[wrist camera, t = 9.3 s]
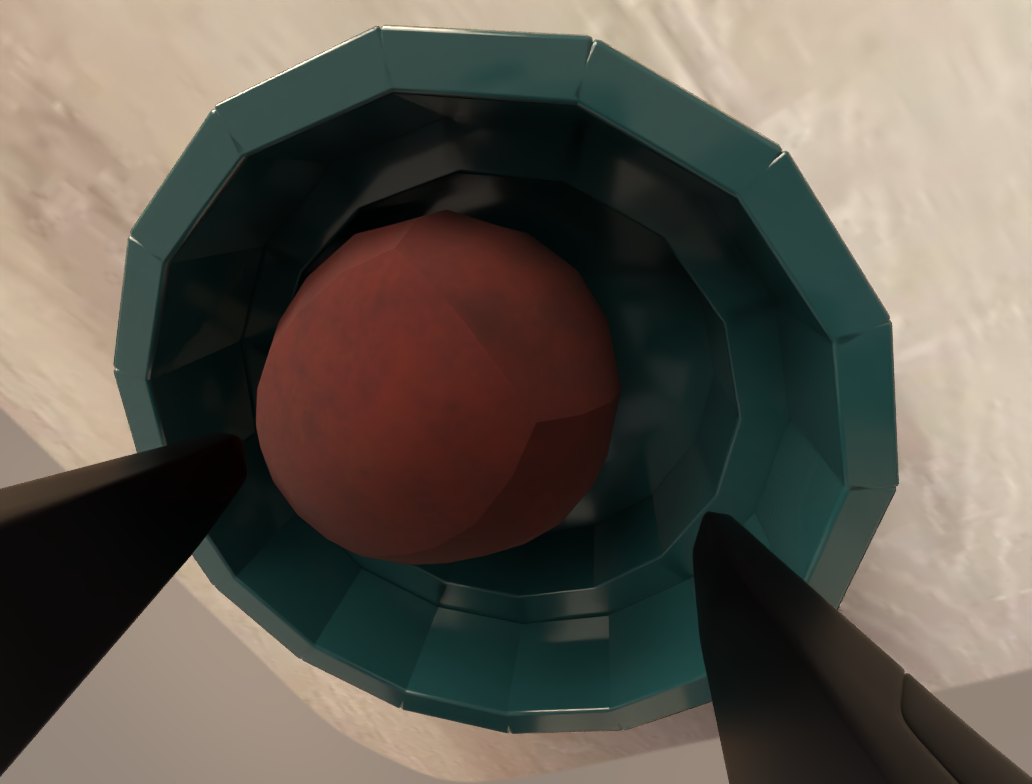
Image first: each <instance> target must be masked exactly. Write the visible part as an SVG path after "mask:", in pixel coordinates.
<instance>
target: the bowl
mask: <svg viewBox="0 0 1032 784" xmlns="http://www.w3.org/2000/svg"><path fill="white" fill-rule="evenodd" d="M443 210H450V211H453V212H456V213H459V214H463V215H466V216H469V217H472V218H475V219H478V220H482V221H485V222H488V223H491V224H494V225H498V226H501V227H505V228H509V229H513V230H517V231H521V232H525V233H528V234H530V235H531V236H532V237H534V238H535V239H536V240H538V241H539V242H540V243H542V244H543V245H544V246H546V247H547V248H548V249H550V250H551V251H552V252H554V253H555V254H556V255H558V256H559V257H560V258H562V259H563V260H564V261H566V262H567V263H568V264H570V265H571V266H573V267H574V268H575V269H576V270H577V271H578V272H579V273H580V274H581V276H582V277H583V279H584V281H585V282H586V284H587V286H588V287H589V289H590V291H591V292H592V294H593V295H594V297H595V299H596V300H597V302H598V304H599V305H600V307H601V309H602V310H603V312H604V314H605V315H606V317H607V320H608V325H609V330H610V335H611V340H612V345H613V350H614V355H615V360H616V365H617V370H618V375H619V380H620V385H621V392H620V396H619V401H618V406H617V411H616V416H615V421H614V426H613V431H612V435H611V440H610V445H609V450H608V455H607V458H606V460H605V462H604V464H603V466H602V468H601V470H600V472H599V474H598V476H597V478H596V480H595V482H594V485H593V487H592V488H591V489H590V490H589V491H588V493H587V494H586V495H585V496H584V497H583V498H582V499H581V501H580V502H579V503H578V504H577V505H576V506H575V508H574V509H573V510H572V511H571V512H570V513H569V514H568V516H567V517H566V518H565V519H564V520H563V521H562V522H561V524H559V525H557V526H556V527H554V528H552V529H550V530H548V531H547V532H545V533H543V534H541V535H540V536H538V537H536V538H534V539H532V540H531V541H529V542H527V543H525V544H523V545H520V546H516V547H513V548H510V549H506V550H503V551H500V552H496V553H493V554H490V555H486V556H481V557H476V558H471V559H466V560H461V561H456V562H451V563H439V564H417V565H408V564H402V563H396V562H390V561H384V560H378V559H372V558H367V557H363V556H359V555H357V554H355V553H353V552H351V551H349V550H347V549H345V548H343V547H342V546H340V545H338V544H336V543H334V542H332V541H330V540H328V539H327V538H325V537H324V536H323V535H322V534H321V533H319V532H318V531H317V530H316V529H314V528H313V527H312V526H311V525H310V524H308V523H307V522H306V521H305V520H303V519H302V518H301V517H300V516H299V515H297V513H296V512H295V511H294V509H293V508H292V507H291V505H290V504H289V502H288V501H287V500H286V498H285V497H284V496H283V494H282V493H281V492H280V490H279V489H278V487H277V486H276V485H275V483H274V482H273V480H272V477H271V475H270V472H269V469H268V467H267V464H266V461H265V459H264V456H263V453H262V451H261V447H260V443H259V438H258V433H257V428H256V409H257V388H258V385H259V382H260V379H261V376H262V373H263V370H264V366H265V363H266V360H267V357H268V354H269V351H270V348H271V344H272V341H273V338H274V335H275V332H276V329H277V326H278V323H279V321H280V319H281V317H282V316H283V314H284V313H285V311H286V309H287V308H288V306H289V305H290V303H291V302H292V300H293V298H294V297H295V295H296V294H297V292H298V291H299V289H300V287H301V286H302V284H303V283H304V281H305V280H306V278H307V277H308V276H309V275H310V274H311V273H312V272H313V271H314V270H316V269H317V268H318V267H319V266H320V265H321V264H322V263H323V262H325V261H326V260H327V259H328V258H329V257H330V256H331V255H332V254H333V253H335V252H336V251H337V250H338V249H339V248H340V247H341V246H342V245H343V244H345V243H346V242H347V241H348V240H349V239H350V238H351V237H352V236H354V235H355V234H357V233H361V232H365V231H369V230H373V229H377V228H381V227H385V226H389V225H393V224H397V223H400V222H404V221H407V220H411V219H414V218H418V217H422V216H425V215H429V214H432V213H436V212H440V211H443ZM130 234H131V236H129V238H128V241H127V250H126V259H125V268H124V277H123V286H122V294H121V303H120V312H119V321H118V330H117V339H116V347H115V356H114V367H115V368H116V369H115V370H114V374H115V378H116V381H117V385H118V388H119V392H120V395H121V399H122V402H123V406H124V409H125V413H126V416H127V419H128V423H129V426H130V430H131V433H132V437H133V440H134V444H135V447H136V451H137V453H140V452H144V451H148V450H151V449H155V448H159V447H163V446H167V445H171V444H174V443H178V442H182V441H186V440H190V439H194V438H198V437H201V436H205V435H209V434H213V433H219V432H221V433H227V434H233V435H237V436H239V437H240V438H241V440H242V442H243V447H244V453H245V458H246V464H247V470H248V472H247V478H246V480H245V482H244V484H243V485H242V487H241V488H240V489H239V491H238V492H237V494H236V495H235V496H234V498H233V499H232V501H231V502H230V504H229V505H228V506H227V508H226V509H225V511H224V512H223V513H222V515H221V516H220V518H219V519H218V520H217V522H216V523H215V525H214V526H213V527H212V529H211V530H210V532H209V533H208V534H207V536H206V537H205V538H204V540H203V541H202V542H201V544H200V545H199V546H198V548H197V549H196V550H195V551H194V552H193V554H192V555H193V557H194V558H195V560H196V561H197V563H198V564H199V566H200V567H201V569H202V570H203V572H204V573H205V574H206V576H207V577H208V579H209V580H210V582H211V583H212V584H213V585H215V587H216V588H217V589H218V590H219V591H220V592H221V593H223V594H224V595H225V596H226V597H227V598H228V599H230V600H231V601H232V602H233V603H234V604H235V605H237V606H238V607H239V608H240V609H241V610H243V611H244V612H245V613H246V614H247V615H248V616H250V617H251V618H252V619H253V620H254V621H255V622H257V623H258V624H259V625H260V626H261V627H263V628H264V629H265V630H266V631H267V632H268V633H270V634H271V635H272V636H273V637H274V638H275V639H277V640H278V641H279V642H280V643H281V644H283V645H284V646H285V647H286V648H287V649H288V650H290V651H291V652H292V653H293V654H294V655H295V656H297V657H298V658H300V659H301V658H302V660H303V661H305V662H307V663H309V664H311V665H313V666H315V667H317V668H319V669H321V670H323V671H325V672H327V673H329V674H331V675H333V676H335V677H337V678H339V679H341V680H343V681H345V682H347V683H349V684H351V685H353V686H355V687H357V688H359V689H361V690H363V691H365V692H367V693H369V694H371V695H373V696H375V697H377V698H379V699H381V700H383V701H385V702H387V703H389V704H391V705H393V706H395V707H397V708H402V709H403V710H406V711H411V712H415V713H419V714H424V715H428V716H433V717H437V718H442V719H446V720H450V721H455V722H459V723H464V724H468V725H472V726H477V727H481V728H486V729H490V730H495V731H499V732H503V733H509V732H510V733H512V734H522V733H554V732H586V731H618V730H622V729H624V730H628V729H631V728H634V727H637V726H640V725H643V724H646V723H649V722H652V721H655V720H658V719H661V718H664V717H667V716H670V715H673V714H676V713H679V712H682V711H685V710H688V709H691V708H694V707H697V706H700V705H703V704H706V703H709V702H712V698H711V693H710V688H709V683H708V678H707V674H706V669H705V664H704V659H703V654H702V649H701V643H700V636H699V627H698V615H697V604H696V593H695V582H694V571H693V548H694V544H695V541H696V537H697V534H698V531H699V527H700V524H701V520H702V517H703V515H704V514H705V513H706V512H708V511H710V512H716V513H723V514H728V515H730V516H732V517H733V518H734V519H735V520H736V521H738V522H739V523H740V524H741V525H742V526H743V527H744V528H745V529H747V530H748V531H749V532H750V533H751V534H752V535H753V536H755V537H756V538H757V539H758V540H759V541H760V542H761V543H762V544H764V545H765V546H766V547H767V548H768V549H769V550H770V551H771V552H773V553H774V554H775V555H776V556H777V557H778V558H779V559H780V560H782V561H783V562H784V563H785V564H786V565H787V566H788V567H789V568H791V569H792V570H793V571H794V572H795V573H796V574H797V575H798V576H800V577H801V578H802V579H803V580H804V581H805V582H806V583H807V584H809V585H810V586H811V587H812V588H813V589H814V590H815V591H816V592H818V593H819V594H820V595H821V596H822V597H823V598H824V599H825V600H827V601H828V602H829V603H830V604H831V605H832V606H833V607H834V608H836V609H838V607H839V605H840V603H841V601H842V599H843V597H844V595H845V593H846V591H847V589H848V587H849V585H850V583H851V581H852V579H853V577H854V575H855V573H856V571H857V569H858V567H859V565H860V563H861V561H862V559H863V557H864V555H865V552H866V550H867V548H868V546H869V544H870V542H871V540H872V538H873V536H874V534H875V532H876V530H877V528H878V526H879V524H880V522H881V520H882V518H883V516H884V514H885V512H886V510H887V508H888V506H889V504H890V502H891V500H892V498H893V496H894V494H895V492H896V486H898V484H899V476H898V452H897V429H896V405H895V382H894V358H893V335H892V322H891V321H890V316H889V314H888V312H887V311H886V309H885V307H884V306H883V304H882V302H881V301H880V299H879V298H878V296H877V294H876V293H875V291H874V289H873V288H872V286H871V285H870V283H869V281H868V280H867V278H866V276H865V275H864V273H863V272H862V270H861V268H860V267H859V265H858V264H857V262H856V260H855V259H854V257H853V255H852V254H851V252H850V251H849V249H848V247H847V246H846V244H845V242H844V241H843V239H842V238H841V236H840V234H839V233H838V231H837V229H836V228H835V226H834V225H833V223H832V221H831V220H830V218H829V217H828V215H827V213H826V212H825V210H824V208H823V207H822V205H821V204H820V202H819V200H818V199H817V197H816V195H815V194H814V192H813V191H812V189H811V187H810V186H809V184H808V182H807V181H806V179H805V178H804V176H803V174H802V173H801V171H800V170H799V168H798V166H797V165H796V163H795V161H794V160H793V158H792V157H791V155H790V153H789V152H787V151H782V148H781V147H780V145H779V144H777V143H775V142H774V141H772V140H770V139H769V138H767V137H765V136H764V135H762V134H760V133H758V132H757V131H755V130H753V129H752V128H750V127H748V126H747V125H745V124H743V123H741V122H740V121H738V120H736V119H735V118H733V117H731V116H730V115H728V114H726V113H725V112H723V111H721V110H719V109H718V108H716V107H714V106H713V105H711V104H709V103H708V102H706V101H704V100H702V99H701V98H699V97H697V96H696V95H694V94H692V93H691V92H689V91H687V90H685V89H684V88H682V87H680V86H679V85H677V84H675V83H674V82H672V81H670V80H668V79H667V78H665V77H663V76H662V75H660V74H658V73H657V72H655V71H653V70H651V69H650V68H648V67H646V66H645V65H643V64H641V63H640V62H638V61H636V60H634V59H633V58H631V57H629V56H628V55H626V54H624V53H623V52H621V51H619V50H617V49H616V48H614V47H612V46H611V45H609V44H607V43H606V42H604V41H602V40H594V41H593V39H592V37H590V36H589V35H574V34H555V33H535V32H516V31H496V30H477V29H457V28H438V27H418V26H399V25H384V26H382V27H379V26H375V27H373V28H371V29H369V30H367V31H365V32H363V33H361V34H359V35H356V36H354V37H352V38H350V39H348V40H346V41H344V42H342V43H340V44H338V45H336V46H334V47H332V48H330V49H328V50H326V51H324V52H322V53H320V54H318V55H316V56H314V57H312V58H310V59H308V60H306V61H303V62H301V63H299V64H297V65H295V66H293V67H291V68H289V69H287V70H285V71H283V72H281V73H279V74H277V75H275V76H273V77H271V78H269V79H267V80H265V81H263V82H261V83H259V84H257V85H255V86H253V87H250V88H248V89H246V90H244V91H242V92H240V93H238V94H236V95H234V96H232V97H230V98H228V99H226V100H224V101H222V102H220V103H218V104H216V105H215V109H213V110H212V111H211V112H210V113H209V115H208V116H207V118H206V119H205V121H204V122H203V124H202V125H201V127H200V128H199V130H198V131H197V133H196V134H195V136H194V137H193V139H192V140H191V142H190V143H189V144H188V146H187V147H186V149H185V150H184V152H183V153H182V155H181V156H180V158H179V159H178V161H177V162H176V164H175V165H174V167H173V168H172V170H171V171H170V173H169V174H168V176H167V177H166V179H165V180H164V182H163V183H162V185H161V186H160V188H159V189H158V191H157V192H156V194H155V195H154V197H153V198H152V200H151V201H150V203H149V204H148V206H147V207H146V208H145V210H144V211H143V213H142V214H141V216H140V217H139V219H138V220H137V222H136V223H135V225H134V226H133V228H132V229H131V231H130Z"/></svg>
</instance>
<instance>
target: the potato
mask: <svg viewBox="0 0 1032 784" xmlns="http://www.w3.org/2000/svg"><path fill="white" fill-rule="evenodd" d="M620 392H621V385H620V380H619V375H618V370H617V365H616V360H615V355H614V350H613V345H612V340H611V335H610V330H609V325H608V320H607V317H606V315H605V314H604V312H603V310H602V309H601V307H600V305H599V304H598V302H597V300H596V299H595V297H594V295H593V294H592V292H591V291H590V289H589V287H588V286H587V284H586V282H585V281H584V279H583V277H582V276H581V274H580V273H579V272H578V271H577V270H576V269H575V268H574V267H573V266H571V265H570V264H568V263H567V262H566V261H564V260H563V259H562V258H560V257H559V256H558V255H556V254H555V253H554V252H552V251H551V250H550V249H548V248H547V247H546V246H544V245H543V244H542V243H540V242H539V241H538V240H536V239H535V238H534V237H532V236H531V235H530V234H528V233H525V232H521V231H517V230H513V229H509V228H505V227H501V226H498V225H494V224H491V223H488V222H485V221H482V220H478V219H475V218H472V217H469V216H466V215H463V214H459V213H456V212H453V211H450V210H443V211H440V212H436V213H432V214H429V215H425V216H422V217H418V218H414V219H411V220H407V221H404V222H400V223H397V224H393V225H389V226H385V227H381V228H377V229H373V230H369V231H365V232H361V233H357V234H355V235H354V236H352V237H351V238H350V239H349V240H348V241H347V242H346V243H345V244H343V245H342V246H341V247H340V248H339V249H338V250H337V251H336V252H335V253H333V254H332V255H331V256H330V257H329V258H328V259H327V260H326V261H325V262H323V263H322V264H321V265H320V266H319V267H318V268H317V269H316V270H314V271H313V272H312V273H311V274H310V275H309V276H308V277H307V278H306V280H305V281H304V283H303V284H302V286H301V287H300V289H299V291H298V292H297V294H296V295H295V297H294V298H293V300H292V302H291V303H290V305H289V306H288V308H287V309H286V311H285V313H284V314H283V316H282V317H281V319H280V321H279V323H278V326H277V329H276V332H275V335H274V338H273V341H272V344H271V348H270V351H269V354H268V357H267V360H266V363H265V366H264V370H263V373H262V376H261V379H260V382H259V385H258V388H257V409H256V428H257V433H258V438H259V443H260V447H261V451H262V453H263V456H264V459H265V461H266V464H267V467H268V469H269V472H270V475H271V477H272V480H273V482H274V483H275V485H276V486H277V487H278V489H279V490H280V492H281V493H282V494H283V496H284V497H285V498H286V500H287V501H288V502H289V504H290V505H291V507H292V508H293V509H294V511H295V512H296V513H297V515H299V516H300V517H301V518H302V519H303V520H305V521H306V522H307V523H308V524H310V525H311V526H312V527H313V528H314V529H316V530H317V531H318V532H319V533H321V534H322V535H323V536H324V537H325V538H327V539H328V540H330V541H332V542H334V543H336V544H338V545H340V546H342V547H343V548H345V549H347V550H349V551H351V552H353V553H355V554H357V555H359V556H363V557H367V558H372V559H378V560H384V561H390V562H396V563H402V564H408V565H417V564H439V563H451V562H456V561H461V560H466V559H471V558H476V557H481V556H486V555H490V554H493V553H496V552H500V551H503V550H506V549H510V548H513V547H516V546H520V545H523V544H525V543H527V542H529V541H531V540H532V539H534V538H536V537H538V536H540V535H541V534H543V533H545V532H547V531H548V530H550V529H552V528H554V527H556V526H557V525H559V524H561V522H562V521H563V520H564V519H565V518H566V517H567V516H568V514H569V513H570V512H571V511H572V510H573V509H574V508H575V506H576V505H577V504H578V503H579V502H580V501H581V499H582V498H583V497H584V496H585V495H586V494H587V493H588V491H589V490H590V489H591V488H592V487H593V485H594V482H595V480H596V478H597V476H598V474H599V472H600V470H601V468H602V466H603V464H604V462H605V460H606V458H607V455H608V450H609V445H610V440H611V435H612V431H613V426H614V421H615V416H616V411H617V406H618V401H619V396H620Z"/></svg>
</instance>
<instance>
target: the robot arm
mask: <svg viewBox="0 0 1032 784" xmlns="http://www.w3.org/2000/svg"><path fill="white" fill-rule="evenodd" d="M247 472H248V470H247V464H246V458H245V453H244V447H243V442H242V440H241V438H240V437H239V436H237V435H233V434H227V433H221V432H219V433H213V434H209V435H205V436H201V437H198V438H194V439H190V440H186V441H182V442H178V443H174V444H171V445H167V446H163V447H159V448H155V449H151V450H148V451H144V452H140V453H136V454H132V455H128V456H125V457H121V458H117V459H113V460H109V461H105V462H101V463H98V464H94V465H90V466H86V467H82V468H78V469H75V470H71V471H67V472H63V473H59V474H55V475H52V476H48V477H44V478H40V479H36V480H33V481H29V482H25V483H21V484H17V485H13V486H9V487H6V488H2V489H0V777H1V776H2V774H3V773H4V772H5V771H6V770H7V769H8V767H9V766H10V765H11V764H12V763H13V762H14V760H15V759H16V758H17V757H18V756H19V755H20V754H21V752H22V751H23V750H24V749H25V748H26V747H27V745H28V744H29V743H30V742H31V741H32V740H33V738H34V737H35V736H36V735H37V734H38V732H39V731H40V730H41V729H42V728H43V727H44V726H45V724H46V723H47V722H48V721H49V720H50V719H51V717H52V716H53V715H54V714H55V713H56V712H57V711H58V709H59V708H60V707H61V706H62V705H63V704H64V702H65V701H66V700H67V699H68V698H69V697H70V695H71V694H72V693H73V692H74V691H75V690H76V688H77V687H78V686H79V685H80V684H81V683H82V681H83V680H84V679H85V678H86V677H87V676H88V675H89V673H90V672H91V671H92V670H93V669H94V668H95V666H96V665H97V664H98V663H99V662H100V661H101V659H102V658H103V657H104V656H105V655H106V654H107V652H108V651H109V650H110V649H111V648H112V647H113V645H114V644H115V643H116V642H117V641H118V640H119V639H120V637H121V636H122V635H123V634H124V633H125V631H126V630H127V629H128V628H129V627H130V626H131V625H132V623H133V622H134V621H135V620H136V618H138V616H139V615H140V614H141V613H142V612H143V611H144V609H145V608H146V607H147V606H148V605H149V604H150V602H151V601H152V600H153V599H154V598H155V597H156V596H157V594H158V593H159V592H160V591H161V590H162V589H163V587H164V586H165V585H166V584H167V583H168V582H169V580H170V579H171V578H172V577H173V576H174V575H175V573H176V572H177V571H178V570H179V569H180V568H181V567H182V565H183V564H184V563H185V562H186V561H187V560H188V558H189V557H190V556H191V555H192V554H193V552H194V551H195V550H196V549H197V548H198V546H199V545H200V544H201V542H202V541H203V540H204V538H205V537H206V536H207V534H208V533H209V532H210V530H211V529H212V527H213V526H214V525H215V523H216V522H217V520H218V519H219V518H220V516H221V515H222V513H223V512H224V511H225V509H226V508H227V506H228V505H229V504H230V502H231V501H232V499H233V498H234V496H235V495H236V494H237V492H238V491H239V489H240V488H241V487H242V485H243V484H244V482H245V480H246V478H247ZM693 571H694V582H695V593H696V604H697V615H698V627H699V636H700V643H701V649H702V654H703V659H704V664H705V669H706V674H707V678H708V683H709V688H710V693H711V698H712V702H713V707H714V712H715V717H716V722H717V726H718V731H719V736H720V741H721V745H722V750H723V754H724V760H725V764H726V769H727V774H728V779H729V784H1032V778H1031V777H1030V776H1029V775H1028V774H1027V773H1025V772H1024V771H1023V770H1022V769H1020V768H1019V767H1018V766H1017V765H1016V764H1014V763H1013V762H1012V761H1011V760H1009V759H1008V758H1007V757H1006V756H1005V755H1003V754H1002V753H1001V752H1000V751H998V750H997V749H996V748H995V747H993V746H992V745H991V744H990V743H989V742H987V741H986V740H985V739H984V738H983V737H981V736H980V735H979V734H978V733H977V732H975V731H974V730H973V729H972V728H971V727H970V726H968V725H967V724H966V723H965V722H964V721H963V720H962V719H960V718H959V717H958V716H957V715H956V714H954V713H953V712H952V711H951V710H950V709H949V708H948V707H946V706H945V705H944V704H943V703H942V702H941V701H939V700H938V699H937V698H936V697H935V696H934V695H933V694H932V693H930V692H929V691H928V690H927V689H926V688H925V687H924V686H923V685H921V684H920V683H919V682H918V681H917V680H916V679H915V678H914V677H912V676H911V675H910V674H904V669H903V668H902V667H901V666H900V665H899V664H898V663H896V662H895V661H894V660H893V659H892V658H891V657H890V656H889V655H887V654H886V653H885V652H884V651H883V650H882V649H881V648H880V647H878V646H877V645H876V644H875V643H874V642H873V641H872V640H870V639H869V638H868V637H867V636H866V635H865V634H864V633H863V632H861V631H860V630H859V629H858V628H857V627H856V626H855V625H854V624H852V623H851V622H850V621H849V620H848V619H847V618H846V617H845V616H843V615H842V614H841V613H840V612H839V611H838V610H837V609H836V608H834V607H833V606H832V605H831V604H830V603H829V602H828V601H827V600H825V599H824V598H823V597H822V596H821V595H820V594H819V593H818V592H816V591H815V590H814V589H813V588H812V587H811V586H810V585H809V584H807V583H806V582H805V581H804V580H803V579H802V578H801V577H800V576H798V575H797V574H796V573H795V572H794V571H793V570H792V569H791V568H789V567H788V566H787V565H786V564H785V563H784V562H783V561H782V560H780V559H779V558H778V557H777V556H776V555H775V554H774V553H773V552H771V551H770V550H769V549H768V548H767V547H766V546H765V545H764V544H762V543H761V542H760V541H759V540H758V539H757V538H756V537H755V536H753V535H752V534H751V533H750V532H749V531H748V530H747V529H745V528H744V527H743V526H742V525H741V524H740V523H739V522H738V521H736V520H735V519H734V518H733V517H732V516H730V515H728V514H723V513H716V512H710V511H708V512H706V513H705V514H704V515H703V517H702V520H701V524H700V527H699V531H698V534H697V537H696V541H695V544H694V548H693Z"/></svg>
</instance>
